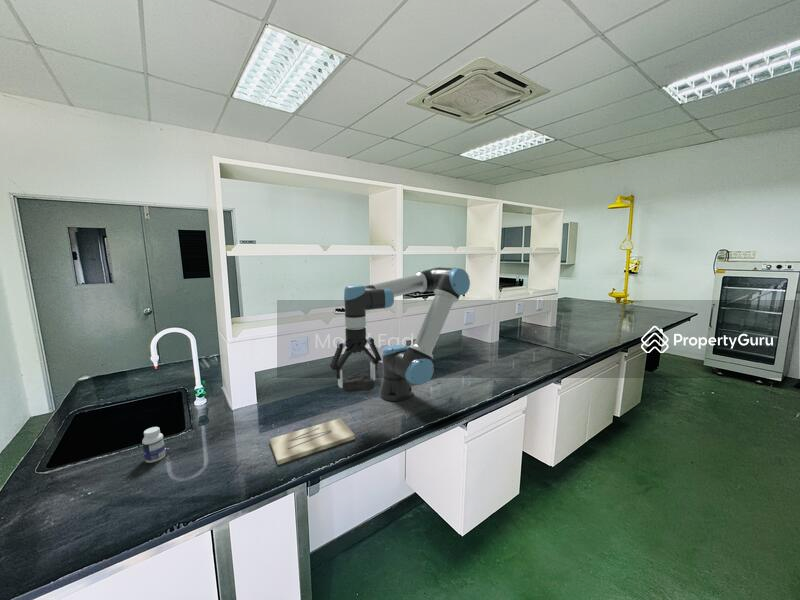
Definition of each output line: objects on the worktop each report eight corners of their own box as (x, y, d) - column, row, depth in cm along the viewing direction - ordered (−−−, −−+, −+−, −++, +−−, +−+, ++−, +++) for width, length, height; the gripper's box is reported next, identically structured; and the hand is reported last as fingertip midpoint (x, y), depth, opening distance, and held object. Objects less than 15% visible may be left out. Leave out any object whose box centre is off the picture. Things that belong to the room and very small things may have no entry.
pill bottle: (143, 458, 103) (139, 429, 102) (164, 450, 107) (160, 423, 105) (145, 465, 99) (142, 436, 98) (166, 457, 103) (163, 429, 102)
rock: (376, 388, 124) (353, 379, 127) (378, 376, 122) (355, 367, 124) (363, 404, 115) (339, 394, 117) (366, 391, 112) (341, 381, 115)
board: (340, 421, 124) (340, 418, 124) (355, 438, 112) (354, 434, 112) (269, 442, 110) (269, 438, 110) (277, 464, 99) (277, 460, 98)
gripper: (380, 321, 126) (381, 373, 129) (319, 329, 114) (321, 386, 116) (389, 325, 120) (390, 379, 123) (326, 333, 107) (328, 393, 110)
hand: (357, 382), depth 120 cm, fingers closed on rock, 13 cm apart
